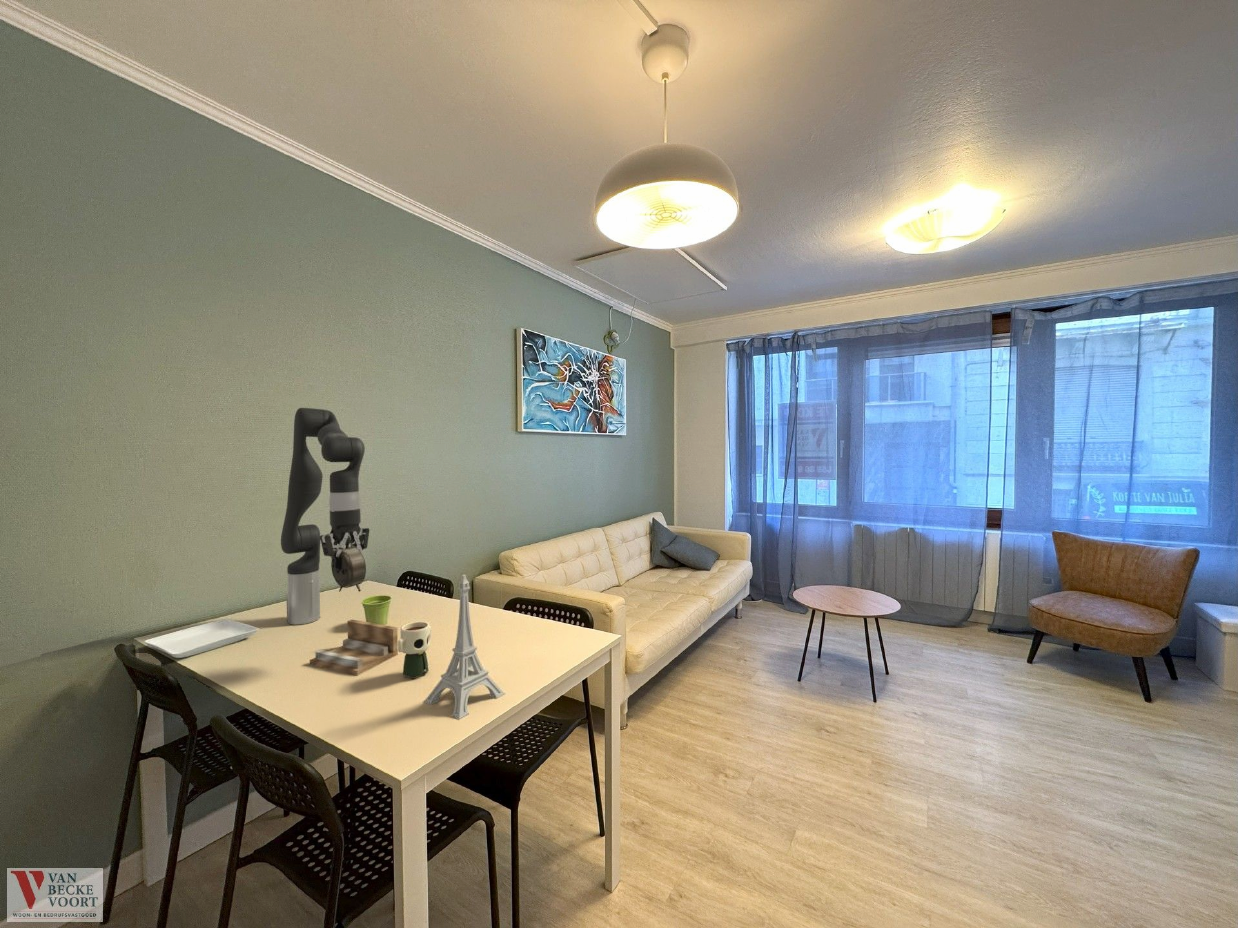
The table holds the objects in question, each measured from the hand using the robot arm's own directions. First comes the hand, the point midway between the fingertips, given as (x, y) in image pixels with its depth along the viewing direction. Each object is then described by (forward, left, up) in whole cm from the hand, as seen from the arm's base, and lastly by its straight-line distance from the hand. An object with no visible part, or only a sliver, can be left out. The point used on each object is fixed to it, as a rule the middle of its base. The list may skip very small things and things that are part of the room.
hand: (346, 567), depth 134 cm
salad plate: (-52, -8, -27) cm, 59 cm away
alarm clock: (0, 0, -7) cm, 7 cm away
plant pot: (-15, +23, -27) cm, 38 cm away
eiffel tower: (+44, -5, -27) cm, 52 cm away
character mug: (+24, 0, -27) cm, 36 cm away
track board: (+1, 0, -26) cm, 26 cm away
